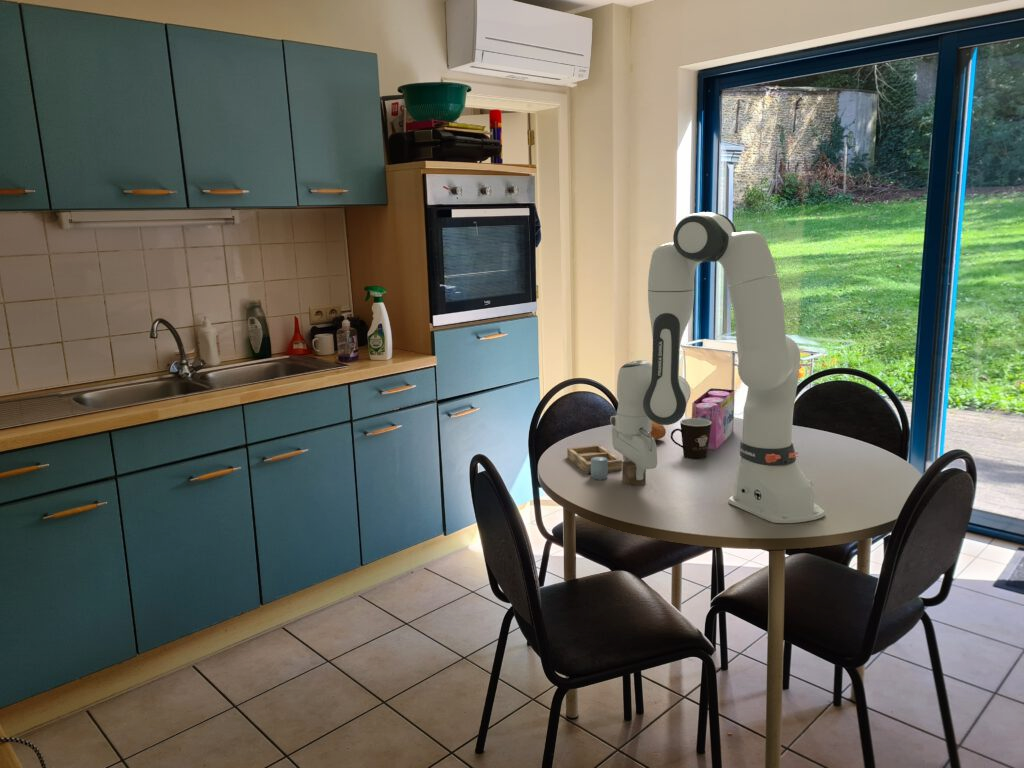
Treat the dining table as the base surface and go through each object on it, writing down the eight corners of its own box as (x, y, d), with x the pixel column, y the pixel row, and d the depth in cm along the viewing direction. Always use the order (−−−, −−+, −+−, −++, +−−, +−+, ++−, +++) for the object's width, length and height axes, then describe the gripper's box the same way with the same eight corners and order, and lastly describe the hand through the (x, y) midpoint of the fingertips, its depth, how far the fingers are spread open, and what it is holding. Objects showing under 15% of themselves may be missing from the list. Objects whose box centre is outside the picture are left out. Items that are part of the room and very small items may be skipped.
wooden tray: (621, 470, 209) (622, 460, 209) (587, 474, 207) (587, 464, 206) (599, 453, 224) (599, 444, 224) (567, 457, 222) (567, 448, 221)
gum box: (715, 452, 224) (716, 406, 221) (688, 448, 227) (689, 404, 224) (733, 431, 244) (735, 389, 241) (708, 429, 248) (710, 387, 245)
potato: (623, 443, 234) (623, 420, 233) (655, 436, 241) (655, 414, 240) (639, 448, 228) (640, 425, 227) (671, 441, 235) (671, 418, 234)
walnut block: (645, 483, 198) (645, 465, 197) (629, 485, 197) (629, 467, 196) (638, 478, 202) (638, 460, 201) (622, 480, 201) (622, 461, 200)
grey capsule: (610, 479, 202) (610, 460, 201) (594, 480, 201) (594, 462, 200) (603, 474, 207) (603, 456, 206) (588, 475, 206) (588, 457, 204)
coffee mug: (708, 451, 224) (709, 418, 221) (712, 460, 215) (713, 426, 213) (667, 451, 225) (668, 418, 223) (670, 460, 216) (671, 426, 214)
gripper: (664, 432, 187) (663, 486, 190) (629, 413, 207) (629, 463, 210) (640, 435, 186) (639, 489, 189) (607, 415, 205) (607, 465, 208)
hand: (633, 475), depth 199 cm, fingers closed on walnut block, 4 cm apart
